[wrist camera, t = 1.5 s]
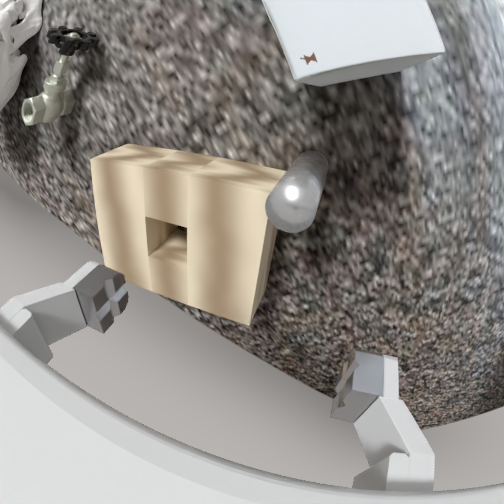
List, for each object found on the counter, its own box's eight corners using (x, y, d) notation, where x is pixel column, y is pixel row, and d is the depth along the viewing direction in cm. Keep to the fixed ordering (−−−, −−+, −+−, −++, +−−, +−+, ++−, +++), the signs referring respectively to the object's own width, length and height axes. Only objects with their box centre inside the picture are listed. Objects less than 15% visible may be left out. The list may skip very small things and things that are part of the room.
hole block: (287, 171, 26) (271, 194, 21) (265, 289, 34) (249, 325, 29) (127, 143, 30) (90, 159, 25) (134, 247, 37) (106, 273, 33)
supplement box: (402, 72, 18) (451, 59, 8) (318, 88, 21) (289, 86, 11) (373, -5, 15) (387, -75, 5) (290, 12, 18) (236, -43, 8)
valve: (76, 126, 30) (110, 42, 24) (36, 140, 25) (66, 43, 18) (51, 103, 30) (81, 25, 23) (14, 115, 24) (39, 26, 17)
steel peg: (331, 154, 24) (320, 192, 16) (324, 186, 26) (309, 238, 18) (298, 146, 25) (269, 179, 17) (292, 178, 26) (261, 225, 18)
